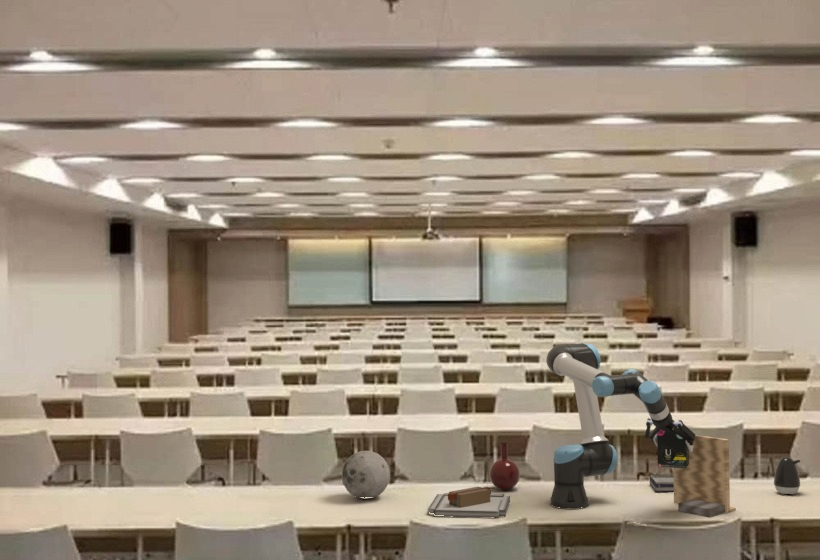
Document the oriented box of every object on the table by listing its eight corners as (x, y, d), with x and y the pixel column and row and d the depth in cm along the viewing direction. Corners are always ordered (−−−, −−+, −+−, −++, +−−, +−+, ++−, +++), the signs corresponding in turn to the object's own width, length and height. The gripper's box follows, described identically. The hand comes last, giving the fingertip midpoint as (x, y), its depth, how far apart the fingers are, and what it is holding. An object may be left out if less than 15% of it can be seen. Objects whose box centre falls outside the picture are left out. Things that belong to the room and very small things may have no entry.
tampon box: (657, 467, 388) (656, 429, 388) (660, 463, 396) (659, 426, 397) (686, 468, 384) (685, 430, 384) (689, 464, 392) (688, 426, 393)
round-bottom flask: (483, 490, 432) (482, 443, 432) (501, 485, 442) (500, 439, 442) (508, 494, 424) (507, 446, 424) (526, 488, 434) (525, 442, 434)
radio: (655, 481, 421) (648, 471, 441) (655, 493, 421) (648, 483, 441) (715, 481, 419) (705, 471, 439) (715, 493, 419) (705, 483, 439)
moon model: (391, 493, 431) (390, 446, 430) (388, 503, 411) (387, 455, 410) (344, 493, 431) (343, 447, 431) (340, 504, 411) (339, 455, 411)
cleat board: (658, 506, 396) (657, 436, 396) (682, 500, 406) (681, 431, 406) (712, 517, 378) (710, 443, 378) (735, 510, 388) (734, 438, 388)
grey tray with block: (505, 520, 383) (504, 500, 383) (427, 518, 388) (426, 498, 388) (510, 501, 413) (510, 483, 412) (438, 500, 418) (437, 482, 418)
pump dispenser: (798, 497, 408) (797, 460, 407) (771, 494, 413) (771, 457, 413) (803, 492, 416) (802, 455, 416) (776, 489, 422) (776, 453, 422)
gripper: (626, 419, 385) (643, 453, 397) (688, 423, 371) (704, 458, 383) (631, 404, 389) (648, 438, 401) (693, 407, 375) (708, 442, 387)
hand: (675, 448), depth 392 cm, fingers closed on tampon box, 12 cm apart
